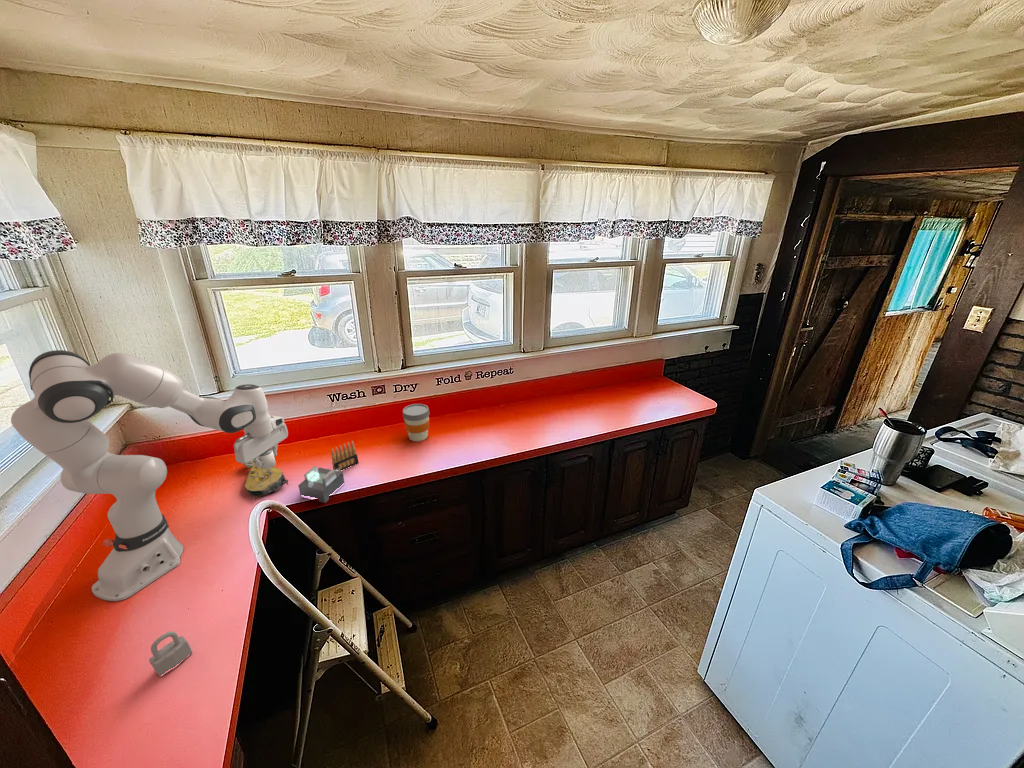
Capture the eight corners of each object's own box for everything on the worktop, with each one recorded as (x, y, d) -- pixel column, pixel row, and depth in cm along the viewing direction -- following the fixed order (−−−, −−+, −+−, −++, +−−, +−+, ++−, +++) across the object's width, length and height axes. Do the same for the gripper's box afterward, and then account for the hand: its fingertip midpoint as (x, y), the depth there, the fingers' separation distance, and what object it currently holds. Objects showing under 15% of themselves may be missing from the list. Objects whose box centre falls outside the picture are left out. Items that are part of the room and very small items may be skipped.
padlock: (161, 679, 100) (147, 653, 96) (154, 670, 102) (139, 644, 98) (194, 654, 106) (181, 628, 102) (186, 646, 108) (174, 620, 103)
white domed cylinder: (268, 470, 149) (264, 456, 147) (257, 467, 150) (253, 453, 148) (279, 462, 153) (275, 448, 151) (268, 460, 155) (264, 446, 152)
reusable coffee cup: (405, 444, 196) (402, 417, 190) (405, 431, 207) (402, 405, 201) (432, 441, 198) (429, 414, 192) (430, 428, 210) (428, 402, 203)
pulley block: (266, 445, 183) (287, 477, 163) (271, 455, 186) (293, 487, 166) (231, 462, 175) (249, 497, 155) (237, 472, 178) (255, 508, 158)
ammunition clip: (335, 474, 175) (330, 450, 170) (333, 472, 176) (328, 448, 171) (359, 463, 182) (354, 440, 177) (356, 461, 183) (352, 438, 178)
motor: (325, 502, 158) (320, 484, 154) (301, 497, 161) (296, 478, 157) (350, 478, 172) (347, 460, 168) (328, 473, 175) (324, 456, 171)
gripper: (240, 443, 136) (250, 478, 141) (287, 415, 154) (294, 447, 159) (225, 440, 137) (235, 475, 142) (273, 413, 155) (281, 445, 161)
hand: (267, 460), depth 151 cm, fingers closed on white domed cylinder, 5 cm apart
